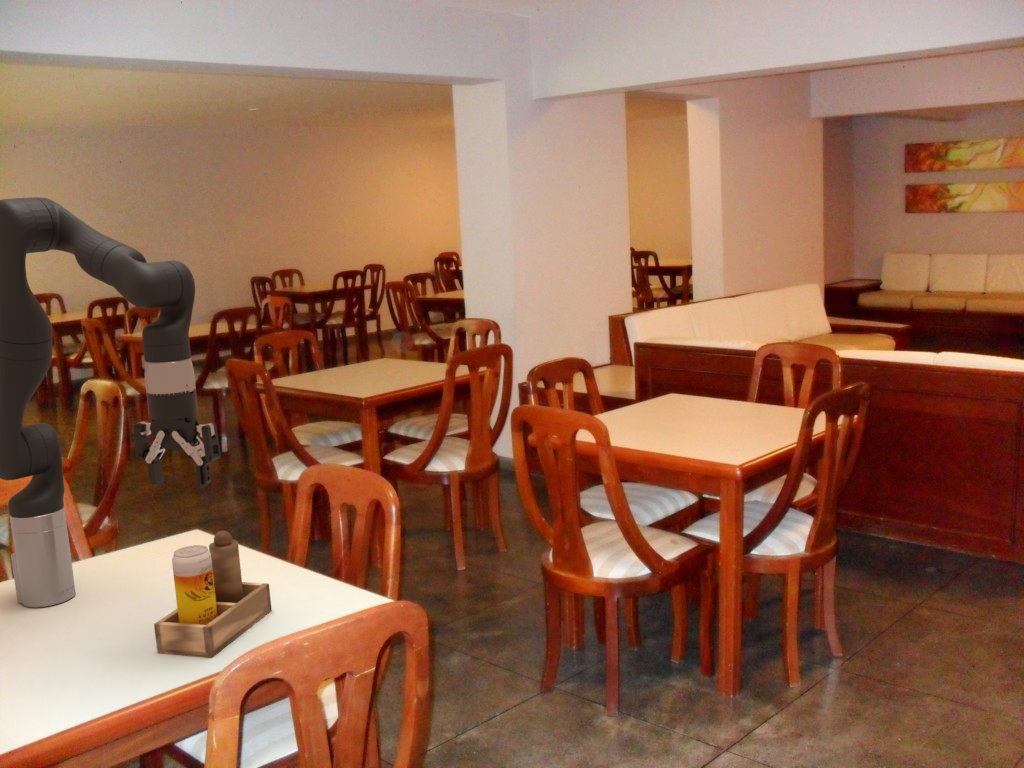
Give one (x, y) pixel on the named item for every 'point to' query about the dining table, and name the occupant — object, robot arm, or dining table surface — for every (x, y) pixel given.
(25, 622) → the dining table surface
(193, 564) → the beer can
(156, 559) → the dining table surface
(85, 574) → the dining table surface
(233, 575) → the caddy
